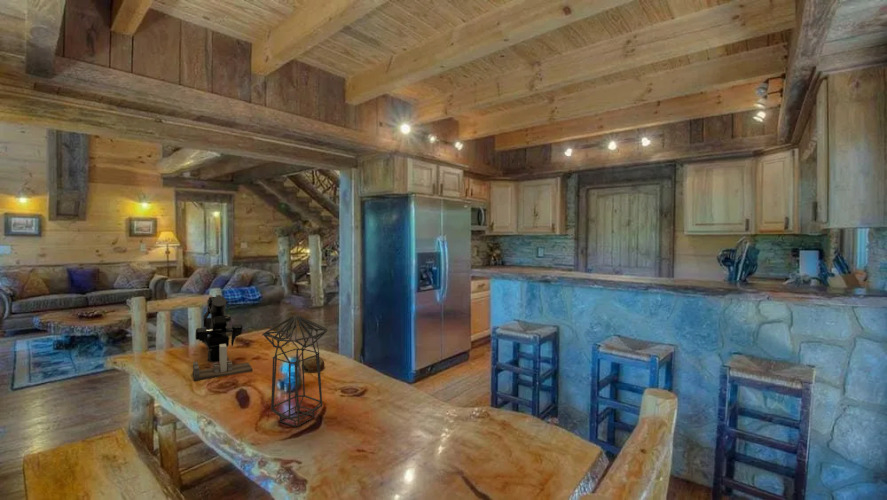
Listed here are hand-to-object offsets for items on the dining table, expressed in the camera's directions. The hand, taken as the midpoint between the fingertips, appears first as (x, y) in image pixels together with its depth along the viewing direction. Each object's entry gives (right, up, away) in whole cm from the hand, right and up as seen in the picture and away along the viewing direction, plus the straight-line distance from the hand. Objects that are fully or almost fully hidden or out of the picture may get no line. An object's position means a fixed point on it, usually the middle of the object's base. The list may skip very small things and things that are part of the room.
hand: (220, 347), depth 177 cm
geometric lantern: (+53, -12, -50) cm, 73 cm away
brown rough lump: (+42, -10, +1) cm, 43 cm away
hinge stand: (+4, -10, -5) cm, 12 cm away
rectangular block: (+4, -9, -5) cm, 11 cm away
